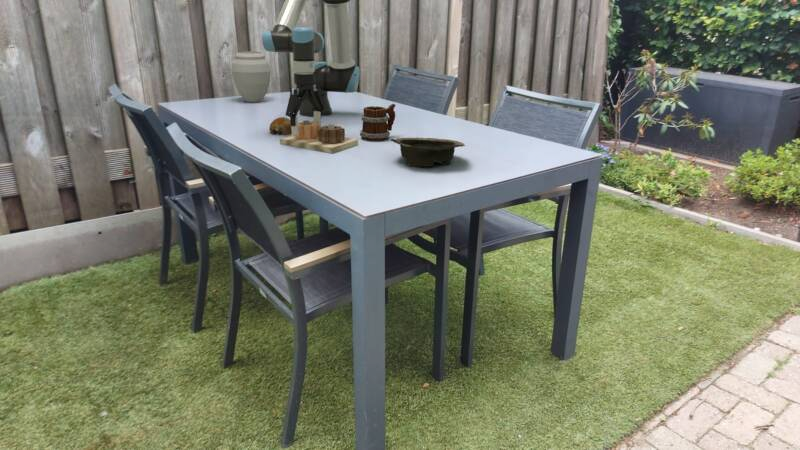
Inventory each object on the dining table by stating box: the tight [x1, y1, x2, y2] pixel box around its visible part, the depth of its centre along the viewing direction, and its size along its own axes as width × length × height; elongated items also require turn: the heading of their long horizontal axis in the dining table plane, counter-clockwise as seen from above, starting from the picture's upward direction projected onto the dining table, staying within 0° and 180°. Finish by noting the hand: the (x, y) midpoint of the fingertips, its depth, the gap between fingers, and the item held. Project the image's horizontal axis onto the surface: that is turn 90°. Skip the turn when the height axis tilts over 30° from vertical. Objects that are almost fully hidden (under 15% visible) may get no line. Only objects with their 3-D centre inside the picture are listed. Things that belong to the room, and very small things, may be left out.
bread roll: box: [268, 116, 292, 136], centre depth 227 cm, size 10×10×8 cm
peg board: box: [279, 120, 359, 155], centre depth 209 cm, size 24×16×8 cm, turn 60°
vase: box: [230, 50, 272, 103], centre depth 287 cm, size 20×20×24 cm
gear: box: [294, 121, 320, 139], centre depth 211 cm, size 10×10×5 cm
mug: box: [359, 103, 396, 142], centre depth 220 cm, size 12×14×15 cm
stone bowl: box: [390, 137, 466, 168], centre depth 191 cm, size 25×25×9 cm
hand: (306, 131), depth 211 cm, fingers open, 12 cm apart
